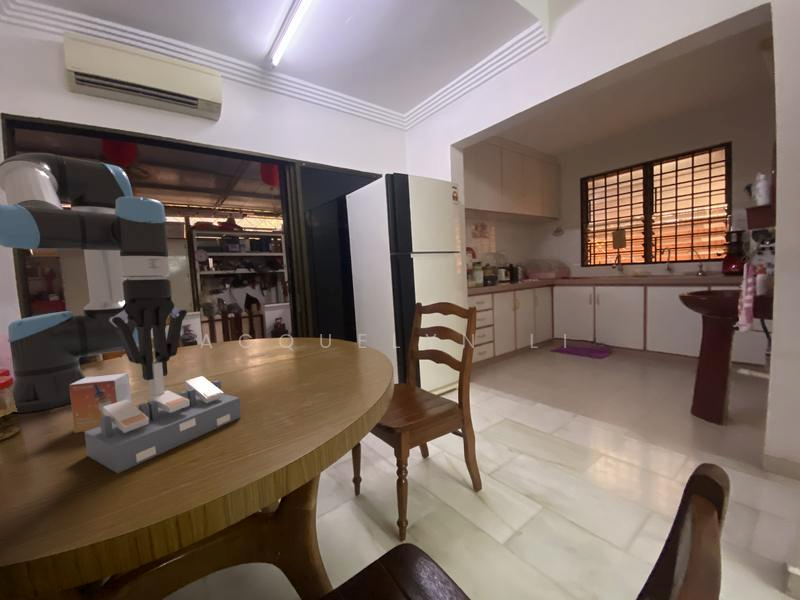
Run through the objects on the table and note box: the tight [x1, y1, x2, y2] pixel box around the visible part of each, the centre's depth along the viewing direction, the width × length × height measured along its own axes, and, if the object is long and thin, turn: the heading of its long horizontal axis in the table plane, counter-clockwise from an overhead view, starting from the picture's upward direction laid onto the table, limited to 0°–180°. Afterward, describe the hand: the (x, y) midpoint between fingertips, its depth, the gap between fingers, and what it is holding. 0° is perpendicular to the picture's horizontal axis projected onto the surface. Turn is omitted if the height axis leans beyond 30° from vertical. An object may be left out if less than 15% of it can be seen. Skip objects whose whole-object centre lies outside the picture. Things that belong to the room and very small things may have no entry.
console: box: [83, 380, 242, 474], centre depth 64 cm, size 12×22×8 cm, turn 152°
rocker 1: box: [103, 400, 149, 433], centre depth 58 cm, size 8×4×1 cm, turn 62°
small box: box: [69, 372, 132, 434], centre depth 70 cm, size 8×6×10 cm
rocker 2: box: [147, 390, 190, 413], centre depth 64 cm, size 8×4×1 cm, turn 62°
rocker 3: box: [184, 375, 224, 403], centre depth 70 cm, size 8×4×1 cm, turn 62°
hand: (157, 393), depth 66 cm, fingers closed
